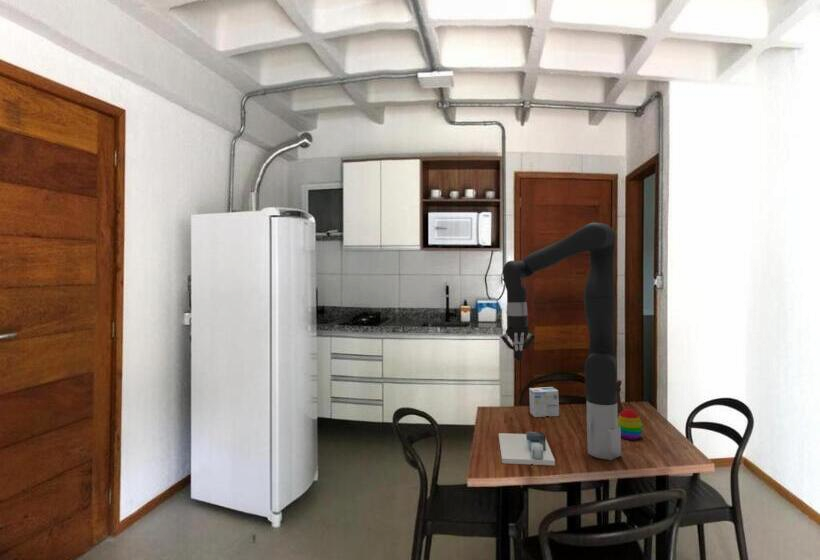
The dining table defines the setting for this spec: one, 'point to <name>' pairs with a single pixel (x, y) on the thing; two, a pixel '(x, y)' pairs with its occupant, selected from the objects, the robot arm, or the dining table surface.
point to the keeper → (537, 438)
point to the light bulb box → (544, 401)
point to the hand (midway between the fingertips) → (518, 360)
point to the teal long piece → (536, 449)
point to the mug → (619, 405)
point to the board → (521, 451)
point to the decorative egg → (630, 424)
